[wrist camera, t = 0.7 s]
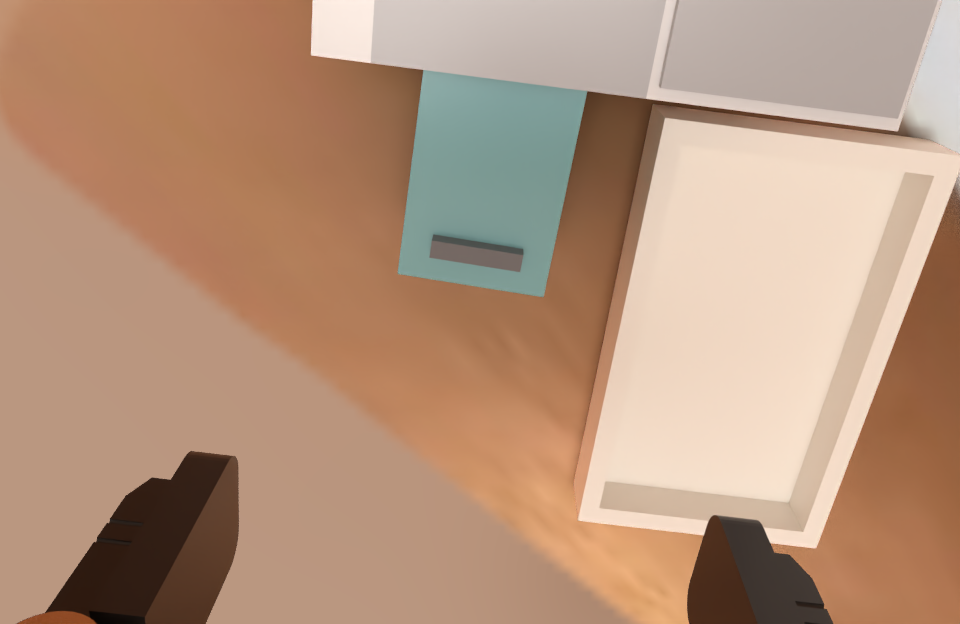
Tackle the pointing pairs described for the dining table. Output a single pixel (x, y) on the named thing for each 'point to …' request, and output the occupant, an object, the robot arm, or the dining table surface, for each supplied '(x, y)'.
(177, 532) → the robot arm
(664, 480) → the tray
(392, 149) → the dining table surface
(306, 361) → the dining table surface
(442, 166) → the teal box
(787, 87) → the box
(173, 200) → the dining table surface
